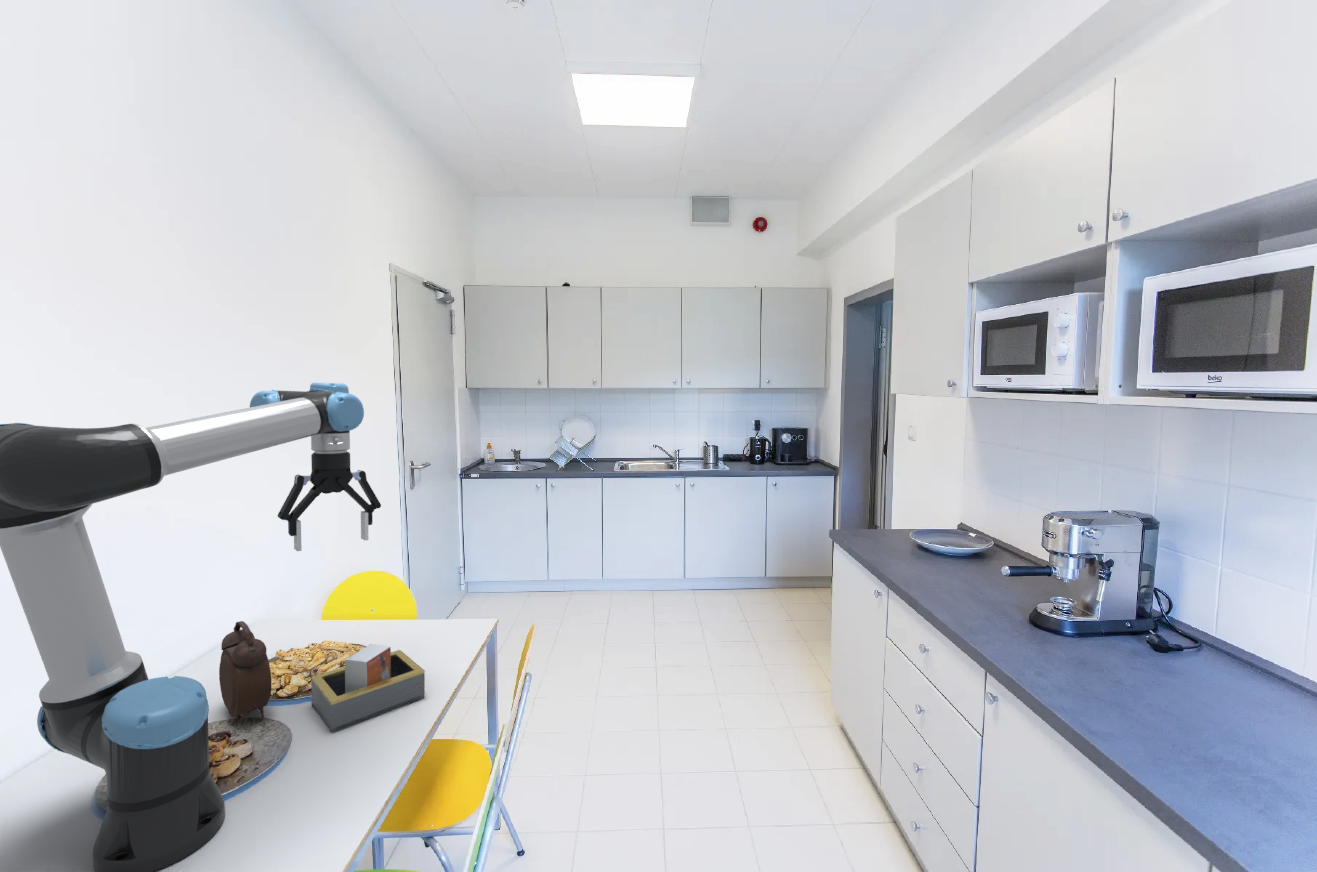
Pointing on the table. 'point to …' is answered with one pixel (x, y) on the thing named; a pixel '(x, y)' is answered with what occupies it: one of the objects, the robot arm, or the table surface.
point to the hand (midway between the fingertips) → (332, 544)
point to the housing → (366, 694)
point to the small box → (367, 667)
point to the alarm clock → (244, 672)
